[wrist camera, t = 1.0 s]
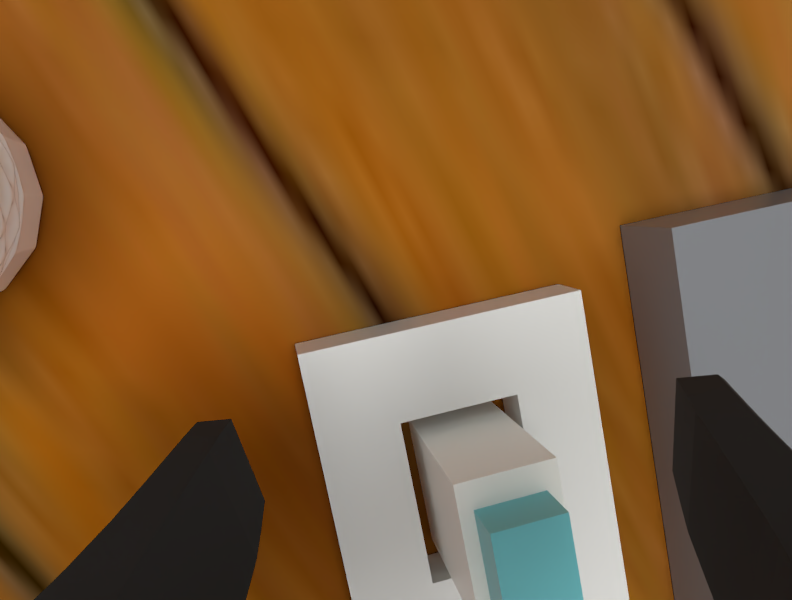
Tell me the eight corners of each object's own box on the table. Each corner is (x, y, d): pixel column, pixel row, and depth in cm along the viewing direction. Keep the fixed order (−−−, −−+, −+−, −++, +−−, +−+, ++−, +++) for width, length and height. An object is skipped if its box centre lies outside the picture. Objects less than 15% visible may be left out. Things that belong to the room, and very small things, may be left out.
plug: (509, 518, 25) (606, 641, 18) (431, 539, 25) (500, 674, 18) (487, 398, 25) (579, 477, 17) (407, 418, 24) (468, 507, 17)
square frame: (606, 580, 26) (630, 607, 25) (363, 651, 25) (370, 685, 23) (558, 284, 25) (580, 290, 23) (294, 343, 23) (297, 354, 22)
